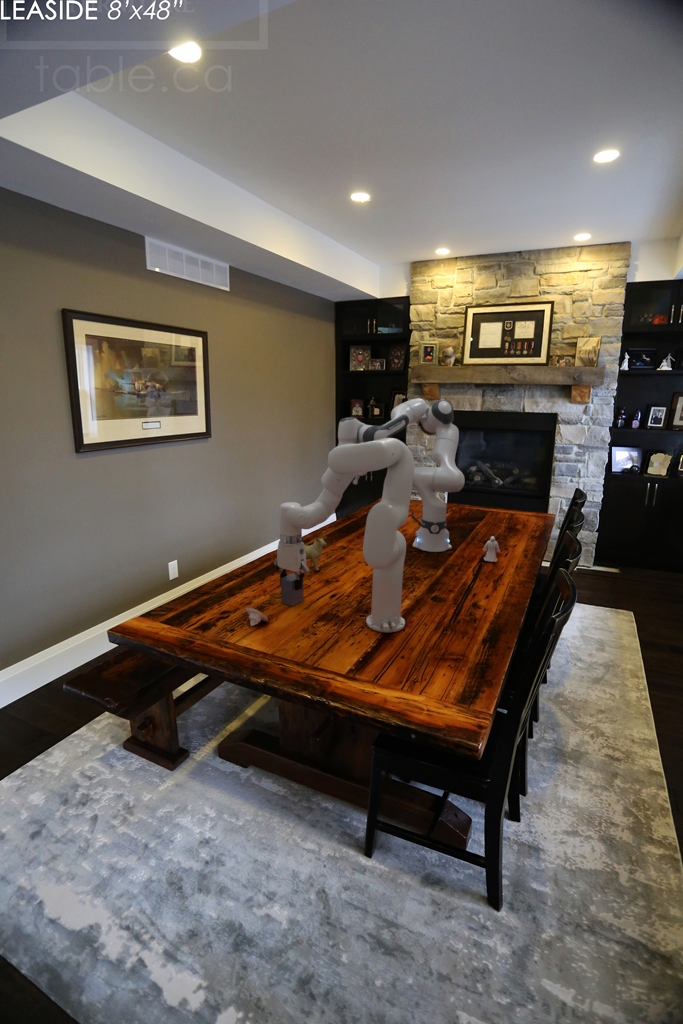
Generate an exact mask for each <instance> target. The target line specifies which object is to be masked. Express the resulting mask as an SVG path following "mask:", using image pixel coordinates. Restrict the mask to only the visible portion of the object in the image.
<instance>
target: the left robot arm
mask: <svg viewBox="0 0 683 1024" xmlns="http://www.w3.org/2000/svg"><path fill="white" fill-rule="evenodd" d="M330 451H331V452H330ZM330 451H329V452H330V454H329V453H328V457H327V463H328V465H329V468H328V469H326V470H325V472H324V473H323V475H322V476H321V478H320V482H321V484H322V487H323V488H322V491H321V492H320V494H319V495H318V497H317V498H316V500H315V501H314V502H312V503H310V504H307V505H304V506H302V505H301V504H300V503H299V502H296V501H295V502H294V501H285V502H283V503H281V504H280V505H279V541H278V544H277V551H276V558H275V560H274V561H273V565H274V566H275V569H276V570H277V572H278V575H279V585H280V586H281V578H283V577H285V576H287V575H288V572H287V571H290V572H292V573H294V574H295V575H296V578H297V579H296V580H295V590H299V589H301V588H302V578H303V579H304V578H305V577H306V576H307V575H308V574H309V573H310V571H311V569H309V567H308V565H307V559H306V552H305V546H304V545H305V543H304V541H305V538H304V537H303V530H310V529H313V528H315V527H316V526H318V525H321V524H323V523H324V522H326V521H327V520H328V519H329V518H330V517H331V516H332V514H333V513H334V512H335V510H336V509H337V508H338V506H339V505H340V502H341V500H342V498H343V494H344V492H345V491H346V489H347V488H348V486H349V485H350V484H351V483H352V482H353V480H354V479H355V478H356V477H355V476H356V474H357V473H360V472H367V473H368V472H374V471H379V470H384V469H386V468H387V470H386V475H385V478H384V481H383V489H382V496H381V499H380V500H379V502H377V503H375V504H374V505H372V507H371V508H370V509H369V512H368V513H367V517H366V522H365V529H364V536H363V543H362V555H363V560H364V561H365V563H366V564H367V566H369V567H370V568H372V585H371V586H372V587H371V607H370V609H371V613H370V615H368V616H367V617H366V621H365V622H366V623H365V624H366V625H367V627H368V628H369V629H372V630H373V631H376V632H379V633H396V632H398V631H402V630H403V629H404V628H405V626H406V620H405V618H403V617H402V615H401V614H402V599H403V598H402V597H403V580H404V567H405V559H406V553H407V541H406V538H405V536H404V535H403V533H402V532H401V531H399V530H398V529H399V528H401V527H402V526H403V525H405V523H407V520H408V517H409V511H410V505H411V498H412V490H413V486H412V483H413V477H414V468H415V460H414V456H413V453H412V451H411V450H410V448H409V447H408V445H406V444H405V443H404V442H403V441H401V440H400V439H398V438H395V437H394V438H393V437H390V438H384V439H380V440H375V441H370V442H365V443H359V444H345V445H341V446H338V445H337V446H335V447H333V449H331V450H330Z"/></svg>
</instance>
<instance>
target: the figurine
mask: <svg viewBox="0 0 683 1024" xmlns="http://www.w3.org/2000/svg"><path fill="white" fill-rule="evenodd" d="M482 551H483V552H486V554H485V556H484V557H483V560H484V561H485V562H495V563H498V558H497V554H496V553H498V554H499V553H501V550H500V547H499V543H498V541H497V540H496V538H495V536H493V535H492V536H490V539H489V540H487V542H486V543H485V544H484V546H483V548H482Z"/></svg>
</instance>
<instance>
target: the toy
mask: <svg viewBox="0 0 683 1024" xmlns="http://www.w3.org/2000/svg"><path fill="white" fill-rule="evenodd" d="M325 540H327V536H323V537H321V538H315V540H314V542H313V544H311V545H306V544H304V546H305V552H306V560H310V563H309V567H310V568H314V567H315V571H316V572H320V571H321V570H320V568H319V567H318V560H319V559H320V558H321V557H322V555H323V553H322V552H323V547H327V546H328V544H327V542H326V541H325Z"/></svg>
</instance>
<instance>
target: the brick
mask: <svg viewBox="0 0 683 1024" xmlns="http://www.w3.org/2000/svg"><path fill="white" fill-rule="evenodd" d="M296 579H297V578H296V575H295V572H292V573H290V574H287V576H285V577H283V578H281V585H280V595H281V596H280V598H281V599H280V602H281V604H284V605H287V606H290V607H294V606H295V605H297V604H300V603H301V602H303V601H304V578H302V588H301V589H299V590H295V580H296Z"/></svg>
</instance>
